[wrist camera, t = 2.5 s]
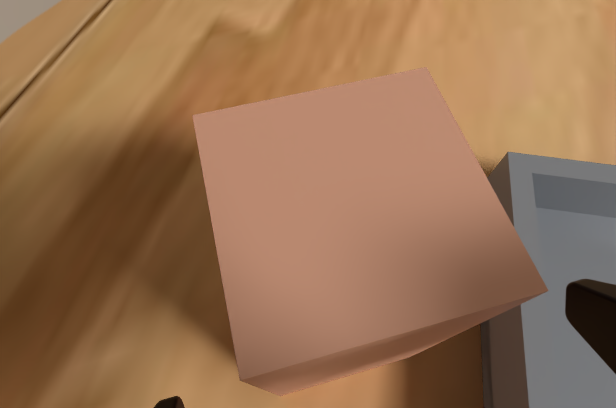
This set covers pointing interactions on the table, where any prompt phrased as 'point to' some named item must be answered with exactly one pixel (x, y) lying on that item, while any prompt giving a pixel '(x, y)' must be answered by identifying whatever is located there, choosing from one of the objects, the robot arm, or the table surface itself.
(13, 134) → the table surface
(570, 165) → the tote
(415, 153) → the carton
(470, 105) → the table surface
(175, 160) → the table surface
